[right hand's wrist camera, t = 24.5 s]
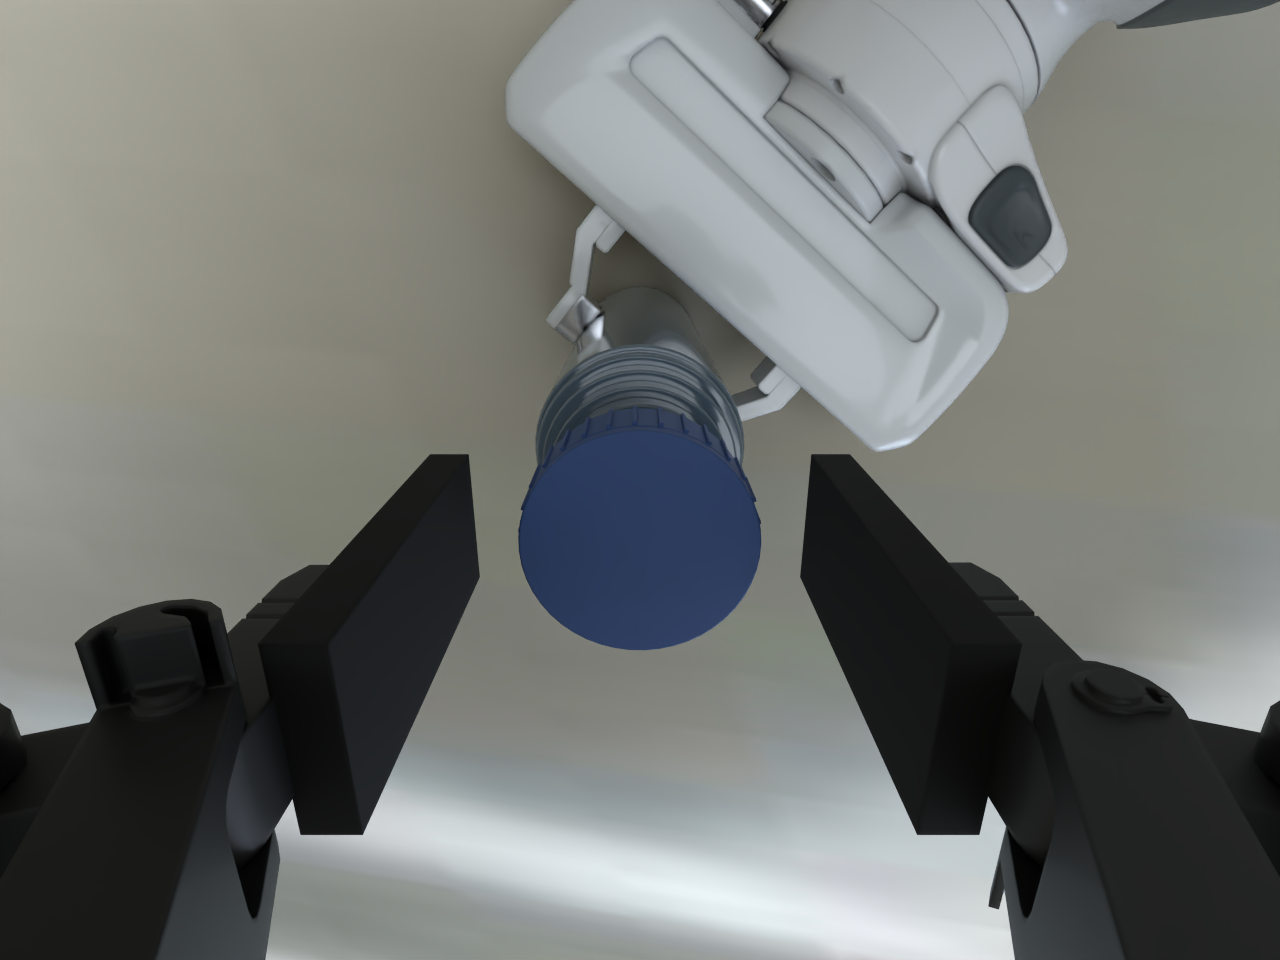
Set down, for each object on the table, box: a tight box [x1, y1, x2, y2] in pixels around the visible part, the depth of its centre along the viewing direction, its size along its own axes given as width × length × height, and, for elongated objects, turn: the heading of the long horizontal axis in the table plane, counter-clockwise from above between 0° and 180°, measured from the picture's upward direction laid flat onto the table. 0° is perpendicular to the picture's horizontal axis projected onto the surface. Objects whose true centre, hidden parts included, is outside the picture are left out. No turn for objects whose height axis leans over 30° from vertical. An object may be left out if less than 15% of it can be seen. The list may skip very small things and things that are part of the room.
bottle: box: [536, 287, 744, 467], centre depth 24 cm, size 6×6×22 cm
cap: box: [518, 406, 761, 650], centre depth 13 cm, size 5×5×2 cm
